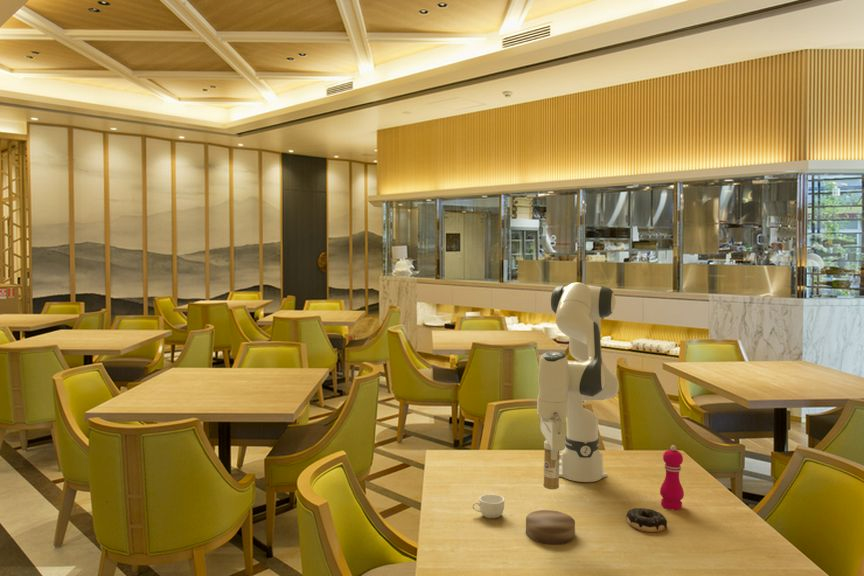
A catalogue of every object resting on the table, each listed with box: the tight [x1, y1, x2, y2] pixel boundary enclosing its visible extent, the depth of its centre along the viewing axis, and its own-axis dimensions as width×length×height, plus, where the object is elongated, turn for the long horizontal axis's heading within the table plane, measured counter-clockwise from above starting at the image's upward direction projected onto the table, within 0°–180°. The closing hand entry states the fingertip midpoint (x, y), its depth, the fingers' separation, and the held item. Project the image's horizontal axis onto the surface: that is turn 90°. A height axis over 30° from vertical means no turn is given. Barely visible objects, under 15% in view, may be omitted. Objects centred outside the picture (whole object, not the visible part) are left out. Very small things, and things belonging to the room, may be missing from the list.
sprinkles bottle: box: [543, 439, 560, 490], centre depth 183 cm, size 5×5×13 cm
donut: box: [625, 507, 668, 533], centre depth 190 cm, size 11×12×4 cm
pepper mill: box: [659, 444, 685, 511], centre depth 204 cm, size 7×7×20 cm
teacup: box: [472, 493, 506, 520], centre depth 196 cm, size 10×8×5 cm
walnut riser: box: [525, 509, 576, 546], centre depth 184 cm, size 14×14×4 cm
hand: (551, 456), depth 182 cm, fingers closed on sprinkles bottle, 4 cm apart
